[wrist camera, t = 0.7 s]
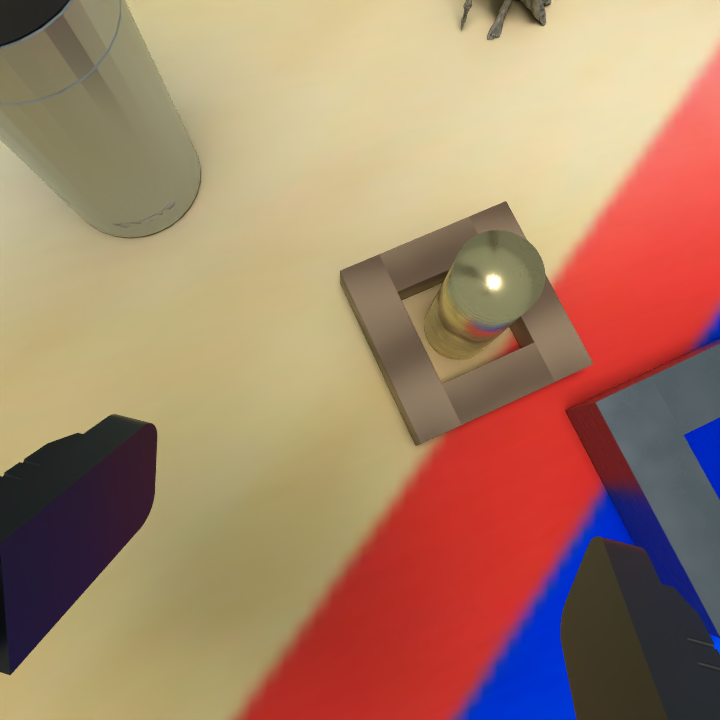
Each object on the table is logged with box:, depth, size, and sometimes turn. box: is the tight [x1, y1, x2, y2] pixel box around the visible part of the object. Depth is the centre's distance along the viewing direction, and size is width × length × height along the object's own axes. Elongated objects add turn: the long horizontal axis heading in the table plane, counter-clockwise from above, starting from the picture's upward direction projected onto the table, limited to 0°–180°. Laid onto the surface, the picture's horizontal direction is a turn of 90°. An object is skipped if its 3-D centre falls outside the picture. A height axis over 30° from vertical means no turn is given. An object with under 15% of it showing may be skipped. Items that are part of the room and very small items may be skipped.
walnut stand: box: [340, 201, 593, 445], centre depth 36 cm, size 12×12×2 cm
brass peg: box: [424, 230, 545, 360], centre depth 32 cm, size 4×4×10 cm
